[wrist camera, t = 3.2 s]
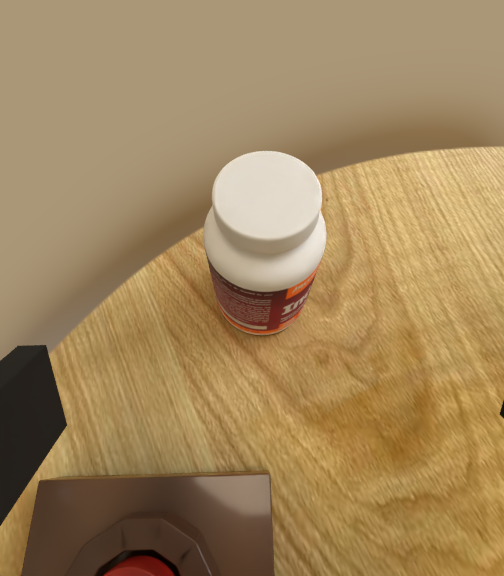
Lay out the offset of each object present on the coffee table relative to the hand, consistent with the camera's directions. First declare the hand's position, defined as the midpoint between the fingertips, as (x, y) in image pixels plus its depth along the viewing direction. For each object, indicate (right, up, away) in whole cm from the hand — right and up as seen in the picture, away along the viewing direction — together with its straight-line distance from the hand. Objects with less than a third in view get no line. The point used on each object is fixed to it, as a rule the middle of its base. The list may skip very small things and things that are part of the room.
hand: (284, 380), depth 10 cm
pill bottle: (0, +2, +15) cm, 15 cm away
